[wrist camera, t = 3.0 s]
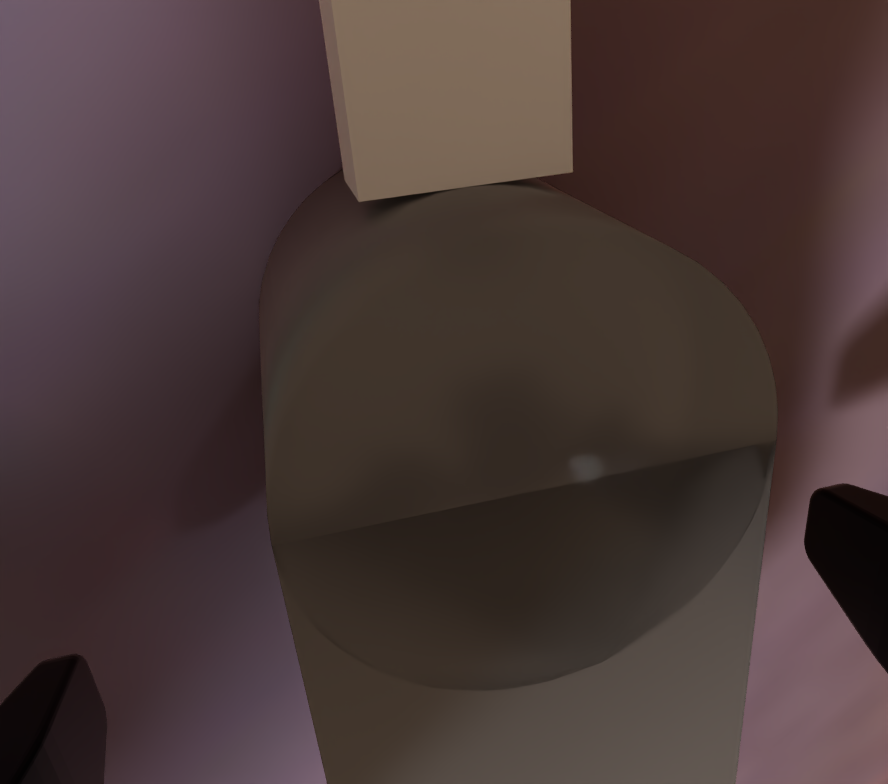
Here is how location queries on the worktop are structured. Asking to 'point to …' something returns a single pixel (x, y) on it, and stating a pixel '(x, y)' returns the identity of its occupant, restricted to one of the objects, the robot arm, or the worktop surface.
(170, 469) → the worktop surface
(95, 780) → the robot arm
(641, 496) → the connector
